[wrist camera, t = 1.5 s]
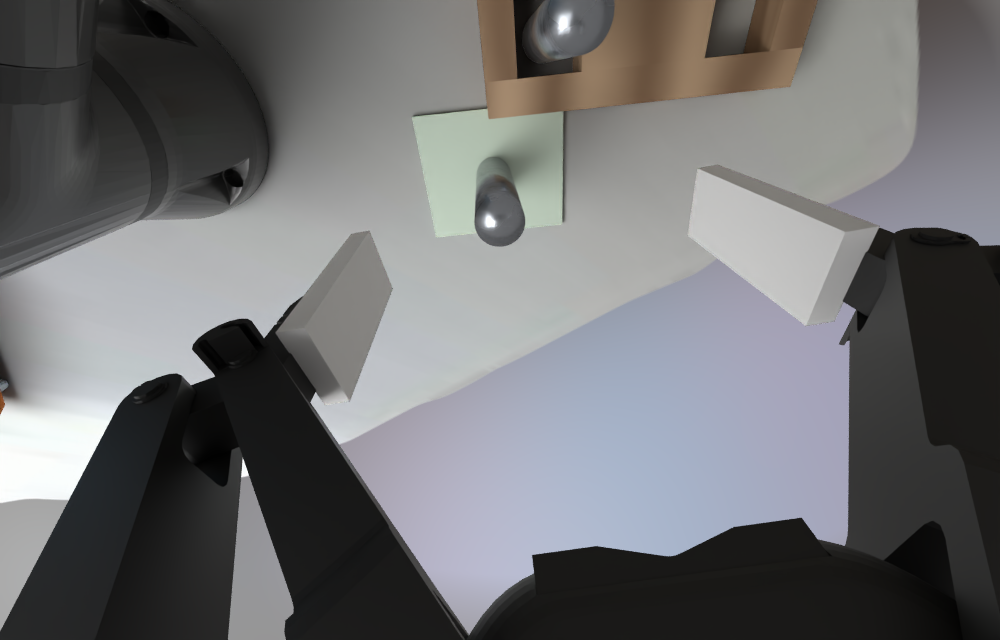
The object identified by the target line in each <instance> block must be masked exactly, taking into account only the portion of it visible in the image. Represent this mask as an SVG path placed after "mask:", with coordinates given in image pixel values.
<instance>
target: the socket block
mask: <svg viewBox="0 0 1000 640" xmlns="http://www.w3.org/2000/svg"><path fill="white" fill-rule="evenodd" d="M715 1H716V0H614V3H615V10H614V17H613V22H612V25H611V28H610V30H609V32H608V34H607V36H606V37H605V39H604V40H603V42H602V43H601V44H600V45H599V46H598V47H597V48H596V49H594V50H593V51H591V52H589V53H587V54H584V55H580V56H575V57H573V72H572V73H563V74H554V75H545V76H535V77H526V78H517V63H516V44H515V25H514V5H513V0H477V6H478V16H479V26H480V37H481V47H482V58H483V68H484V79H485V89H486V100H487V110H488V118H489V119H496V118H506V117H515V116H524V115H533V114H542V113H552V112H561V111H570V110H579V109H589V108H598V107H607V106H616V105H625V104H635V103H644V102H653V101H662V100H671V99H681V98H690V97H699V96H708V95H718V94H727V93H736V92H745V91H754V90H764V89H773V88H782V87H790V86H791V83H792V80H793V77H794V74H795V70H796V67H797V64H798V61H799V58H800V55H801V52H802V48H803V45H804V42H805V39H806V36H807V33H808V29H809V26H810V23H811V20H812V17H813V14H814V11H815V7H816V4H817V1H818V0H756V3H755V7H754V11H753V15H752V19H751V24H750V28H749V32H748V36H747V40H746V44H745V48H744V52H743V54H735V55H726V56H717V57H708V58H705V53H706V48H707V43H708V37H709V32H710V27H711V22H712V17H713V12H714V6H715Z"/></svg>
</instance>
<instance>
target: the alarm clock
mask: <svg viewBox="0 0 1000 640" xmlns="http://www.w3.org/2000/svg"><path fill="white" fill-rule="evenodd" d="M8 386H9V385H8V383H7V381H5V380H1V379H0V414H1V412H2V410H3V408H4V406H5V403H4V399H3V396H2V393H1V392H2V391H3V390H4V389H6V388H7V387H8Z"/></svg>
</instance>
